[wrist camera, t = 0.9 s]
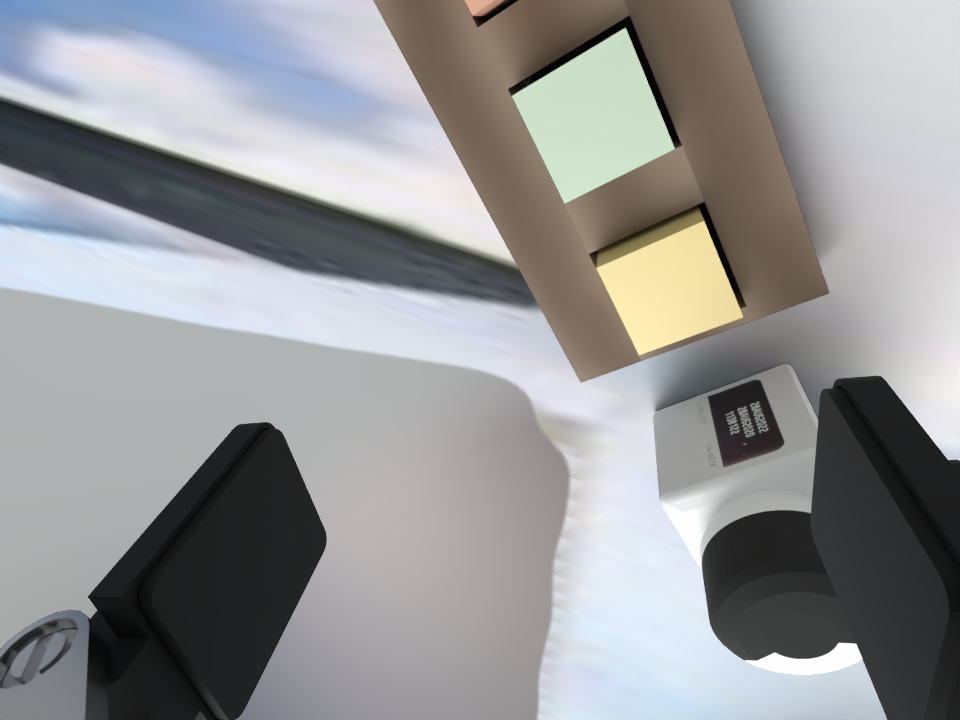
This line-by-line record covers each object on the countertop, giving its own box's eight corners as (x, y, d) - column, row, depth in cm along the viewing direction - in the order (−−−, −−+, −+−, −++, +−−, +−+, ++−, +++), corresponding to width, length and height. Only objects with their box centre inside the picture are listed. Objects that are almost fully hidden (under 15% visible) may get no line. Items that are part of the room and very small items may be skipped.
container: (650, 410, 35) (663, 593, 24) (788, 359, 31) (878, 542, 20) (705, 504, 37) (740, 710, 26) (838, 465, 34) (942, 681, 23)
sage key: (625, 26, 24) (625, 27, 22) (670, 136, 26) (675, 148, 23) (522, 89, 26) (511, 96, 24) (569, 187, 28) (564, 203, 25)
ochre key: (696, 201, 27) (704, 220, 25) (732, 291, 29) (743, 317, 26) (598, 246, 29) (596, 268, 26) (637, 327, 31) (639, 355, 28)
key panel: (617, -287, 21) (617, -329, 19) (811, 269, 29) (829, 293, 26) (357, -72, 26) (328, -82, 23) (584, 355, 34) (580, 382, 31)
